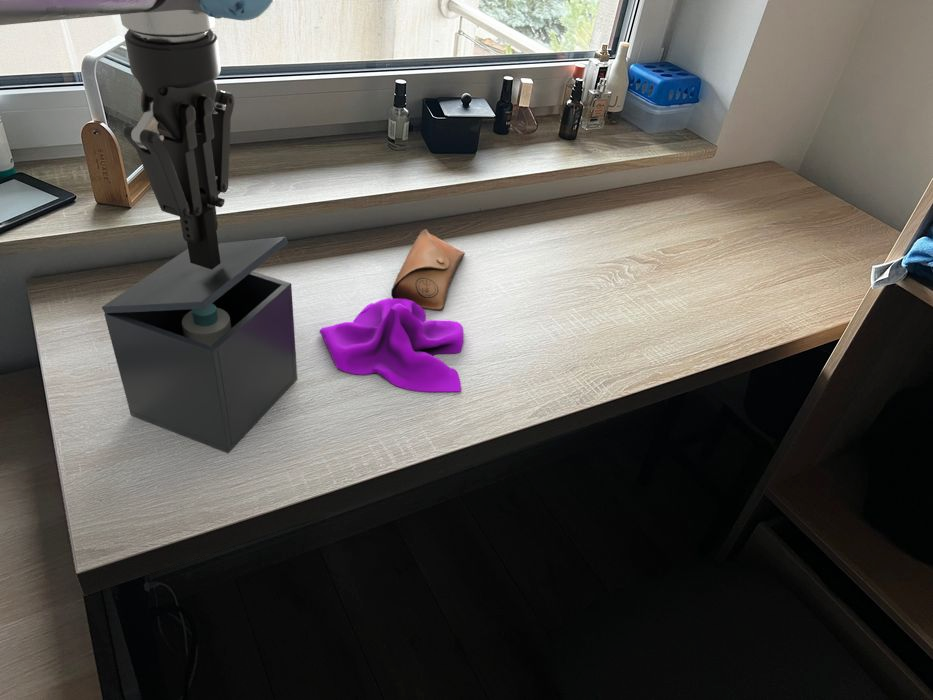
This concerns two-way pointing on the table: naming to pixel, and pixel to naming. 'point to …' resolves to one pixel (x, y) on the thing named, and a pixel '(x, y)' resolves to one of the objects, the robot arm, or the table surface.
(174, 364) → the dark grey open box
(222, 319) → the white bottle
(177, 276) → the lid
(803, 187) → the table surface
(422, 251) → the sunglasses case
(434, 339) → the cloth
